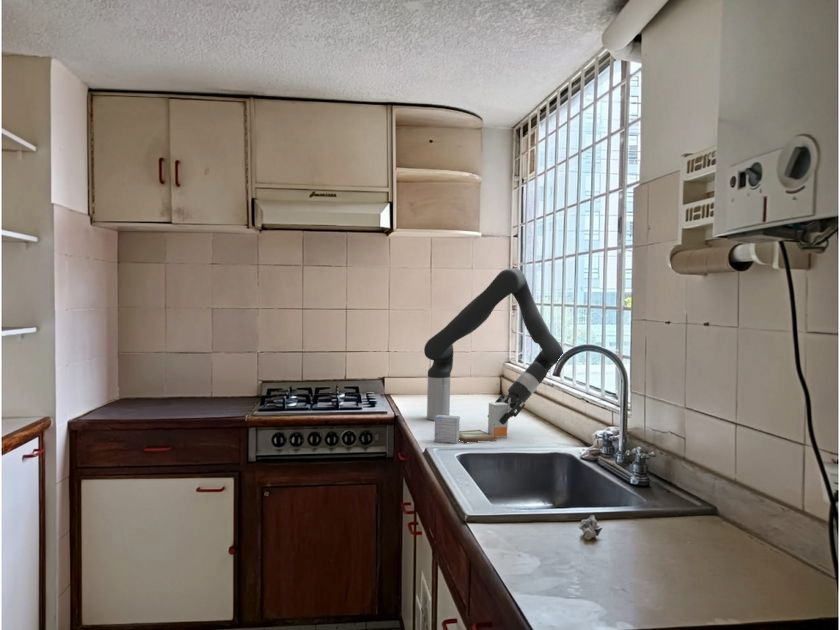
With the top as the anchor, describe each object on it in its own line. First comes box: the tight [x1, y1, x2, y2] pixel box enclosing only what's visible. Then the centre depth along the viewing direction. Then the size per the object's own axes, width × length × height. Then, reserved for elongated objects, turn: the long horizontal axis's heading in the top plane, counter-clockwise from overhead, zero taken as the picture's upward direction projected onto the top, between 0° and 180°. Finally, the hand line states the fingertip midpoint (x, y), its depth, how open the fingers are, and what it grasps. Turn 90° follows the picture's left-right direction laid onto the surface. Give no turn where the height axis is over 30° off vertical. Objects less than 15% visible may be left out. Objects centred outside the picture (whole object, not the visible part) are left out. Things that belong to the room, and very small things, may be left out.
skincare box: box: [487, 402, 509, 439], centre depth 219 cm, size 6×4×12 cm
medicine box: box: [433, 414, 461, 444], centre depth 210 cm, size 8×4×9 cm, turn 74°
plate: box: [459, 429, 497, 444], centre depth 215 cm, size 12×12×2 cm
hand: (495, 420), depth 219 cm, fingers open, 8 cm apart
